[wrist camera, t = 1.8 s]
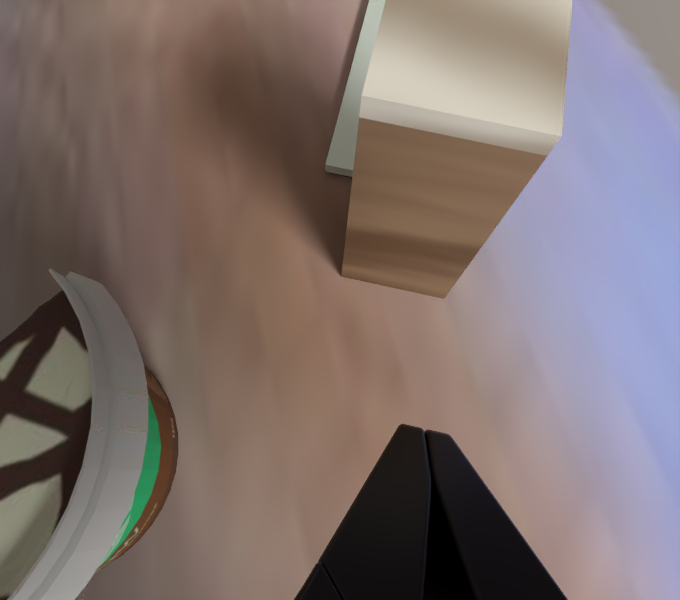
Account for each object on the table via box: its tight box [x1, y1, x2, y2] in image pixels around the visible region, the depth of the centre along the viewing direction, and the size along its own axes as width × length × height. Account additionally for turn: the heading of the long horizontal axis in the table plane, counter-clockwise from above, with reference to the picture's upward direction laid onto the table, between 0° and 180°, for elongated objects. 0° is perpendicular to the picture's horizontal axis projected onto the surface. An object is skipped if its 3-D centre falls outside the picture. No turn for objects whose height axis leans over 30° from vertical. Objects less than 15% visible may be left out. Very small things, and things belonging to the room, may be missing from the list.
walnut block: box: [341, 0, 572, 298], centre depth 19 cm, size 5×5×12 cm
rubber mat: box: [325, 0, 386, 177], centre depth 27 cm, size 14×9×1 cm, turn 167°
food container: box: [0, 268, 178, 600], centre depth 15 cm, size 12×6×10 cm, turn 136°
